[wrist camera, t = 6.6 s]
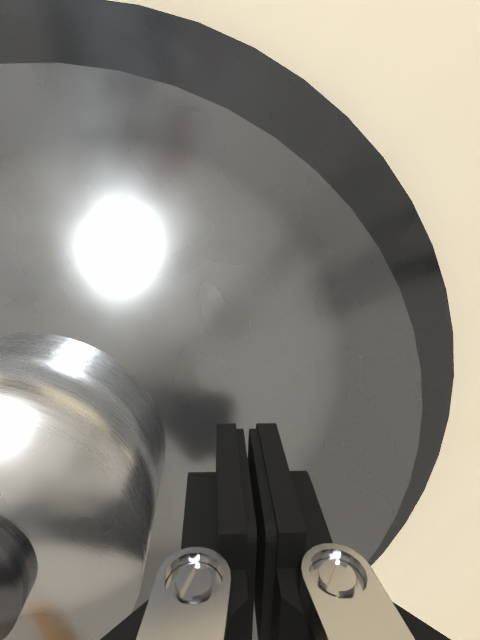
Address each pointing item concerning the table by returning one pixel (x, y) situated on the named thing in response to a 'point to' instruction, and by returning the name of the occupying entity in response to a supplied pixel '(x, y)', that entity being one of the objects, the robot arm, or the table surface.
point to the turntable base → (285, 125)
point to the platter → (208, 287)
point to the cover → (73, 488)
